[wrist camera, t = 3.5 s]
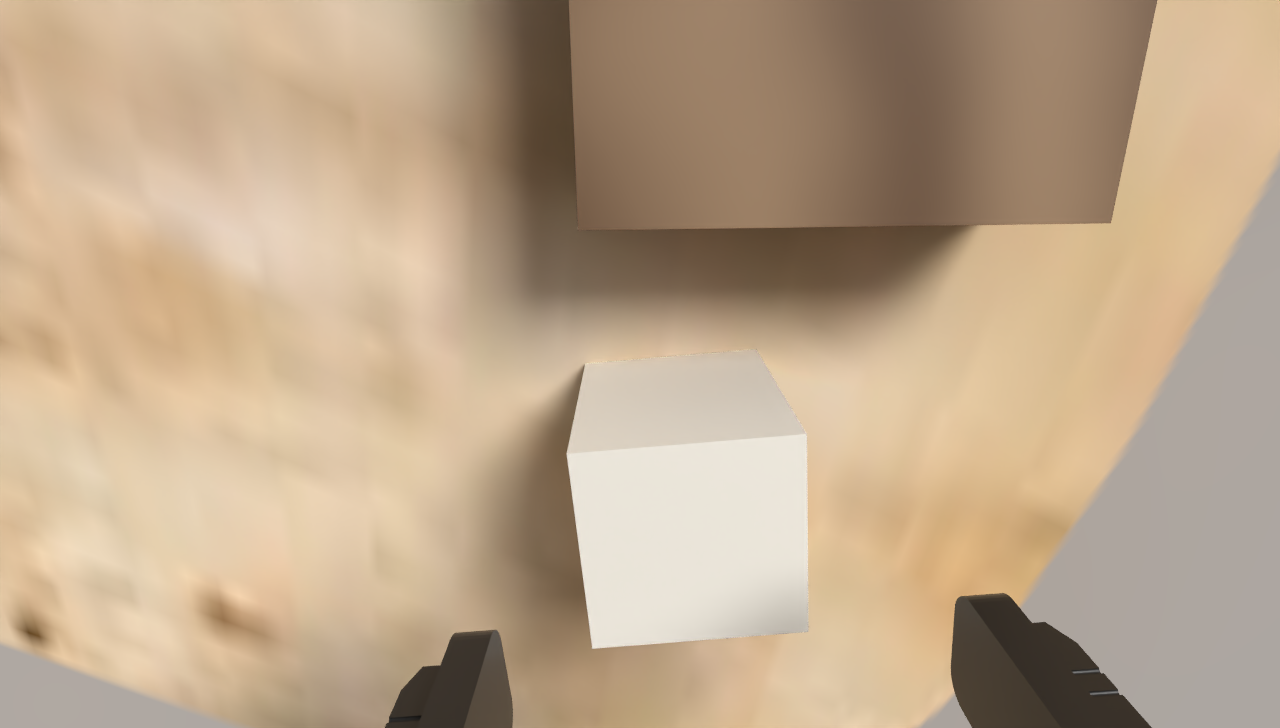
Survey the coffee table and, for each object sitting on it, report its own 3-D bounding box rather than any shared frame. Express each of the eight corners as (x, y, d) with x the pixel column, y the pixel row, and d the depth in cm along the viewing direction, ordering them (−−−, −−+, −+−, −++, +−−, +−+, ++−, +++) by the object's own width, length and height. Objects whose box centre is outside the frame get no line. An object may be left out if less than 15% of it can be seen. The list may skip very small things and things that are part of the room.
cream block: (603, 512, 21) (592, 648, 16) (585, 362, 20) (567, 453, 14) (760, 499, 21) (808, 631, 16) (755, 348, 20) (807, 434, 14)
